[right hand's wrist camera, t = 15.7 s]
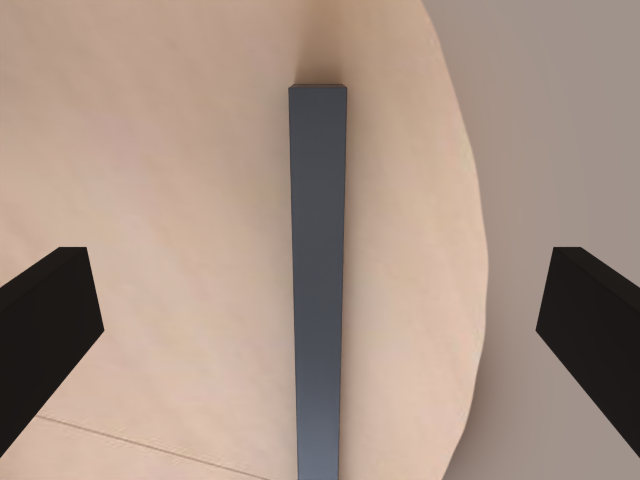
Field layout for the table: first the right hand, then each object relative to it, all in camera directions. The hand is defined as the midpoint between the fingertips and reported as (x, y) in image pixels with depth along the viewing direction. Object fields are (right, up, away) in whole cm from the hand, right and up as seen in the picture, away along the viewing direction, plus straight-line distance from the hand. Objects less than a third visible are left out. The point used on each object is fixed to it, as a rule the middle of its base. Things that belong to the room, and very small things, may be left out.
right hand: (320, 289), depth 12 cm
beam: (0, -18, +46) cm, 49 cm away
